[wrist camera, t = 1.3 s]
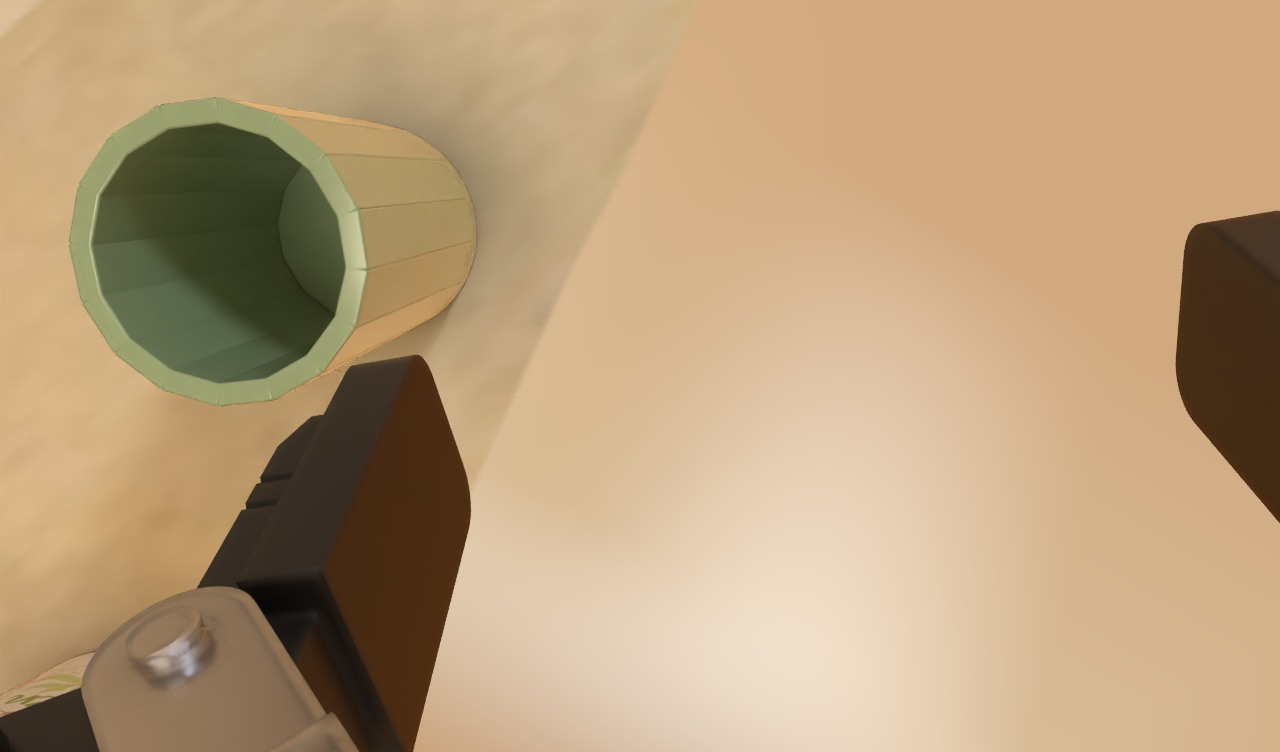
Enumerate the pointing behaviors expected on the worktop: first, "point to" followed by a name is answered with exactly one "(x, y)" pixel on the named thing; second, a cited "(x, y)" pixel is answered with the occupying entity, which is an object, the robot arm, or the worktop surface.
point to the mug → (46, 685)
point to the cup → (263, 244)
